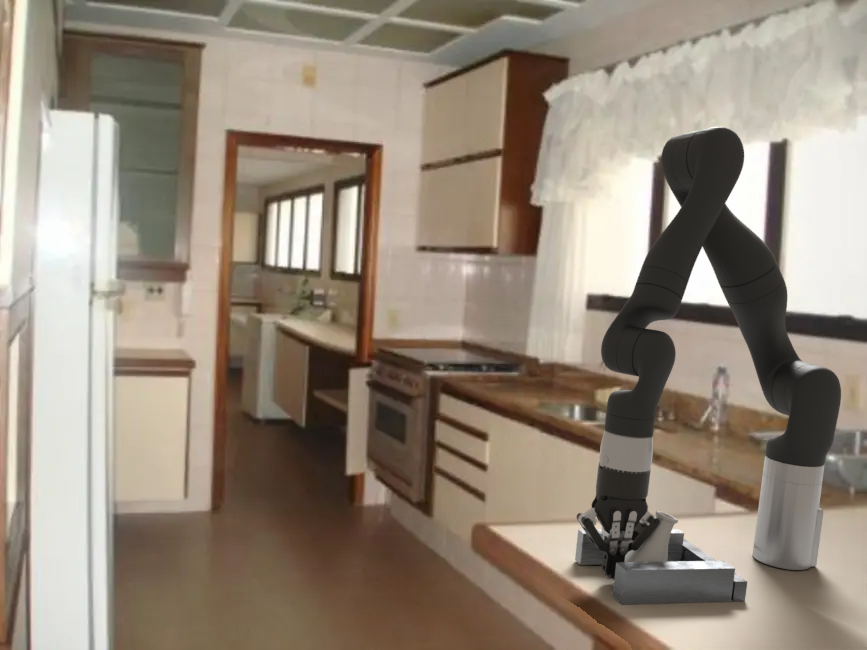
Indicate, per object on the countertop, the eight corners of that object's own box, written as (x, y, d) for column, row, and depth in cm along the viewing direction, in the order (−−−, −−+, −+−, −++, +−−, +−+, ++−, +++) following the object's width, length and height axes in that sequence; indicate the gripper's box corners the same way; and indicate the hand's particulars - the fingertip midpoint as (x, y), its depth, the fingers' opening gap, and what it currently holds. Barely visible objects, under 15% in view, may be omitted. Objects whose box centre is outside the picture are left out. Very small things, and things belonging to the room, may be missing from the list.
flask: (639, 583, 138) (666, 520, 137) (609, 561, 144) (635, 500, 143) (673, 591, 141) (700, 530, 141) (642, 569, 147) (668, 510, 147)
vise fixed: (679, 554, 157) (682, 524, 157) (744, 601, 139) (749, 568, 138) (568, 555, 152) (571, 525, 151) (621, 604, 134) (625, 570, 133)
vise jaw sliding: (668, 554, 156) (674, 501, 155) (680, 563, 152) (687, 508, 151) (570, 555, 151) (575, 500, 150) (580, 564, 148) (586, 508, 147)
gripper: (653, 457, 145) (640, 567, 147) (573, 455, 141) (560, 567, 143) (678, 470, 138) (664, 586, 139) (594, 468, 134) (580, 587, 136)
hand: (611, 576), depth 141 cm, fingers closed
